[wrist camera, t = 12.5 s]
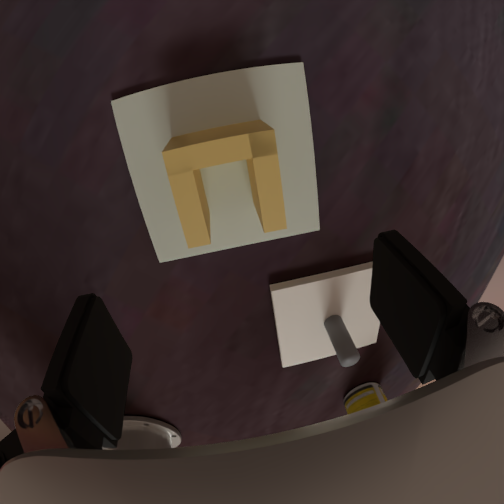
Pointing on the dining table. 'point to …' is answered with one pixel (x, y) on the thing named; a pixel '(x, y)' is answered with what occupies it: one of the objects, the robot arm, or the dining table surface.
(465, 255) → the dining table surface
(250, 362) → the dining table surface
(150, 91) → the mat
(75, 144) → the dining table surface
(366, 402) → the pill bottle
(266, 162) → the c link
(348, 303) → the stand
